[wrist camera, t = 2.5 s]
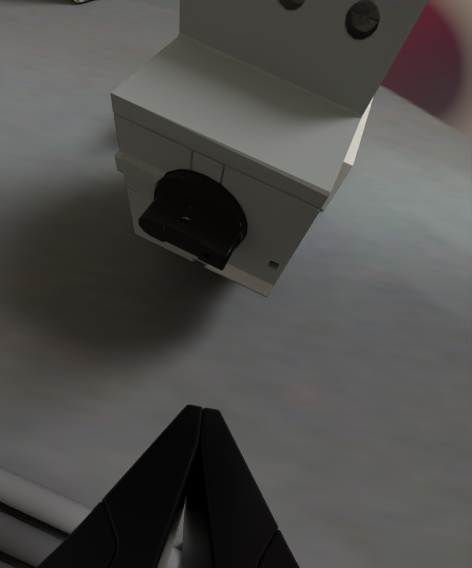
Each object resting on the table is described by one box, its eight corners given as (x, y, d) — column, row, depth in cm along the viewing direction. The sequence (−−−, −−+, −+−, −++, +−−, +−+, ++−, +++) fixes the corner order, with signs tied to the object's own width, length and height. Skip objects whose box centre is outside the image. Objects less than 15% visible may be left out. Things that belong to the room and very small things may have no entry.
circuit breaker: (125, 291, 19) (17, -68, 6) (226, 153, 26) (281, -153, 13) (238, 347, 18) (400, 102, 5) (309, 192, 25) (456, -81, 12)
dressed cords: (284, 747, 12) (295, 777, 11) (-258, 488, 12) (-298, 492, 11) (313, 596, 14) (324, 608, 13) (-150, 381, 14) (-176, 376, 13)
